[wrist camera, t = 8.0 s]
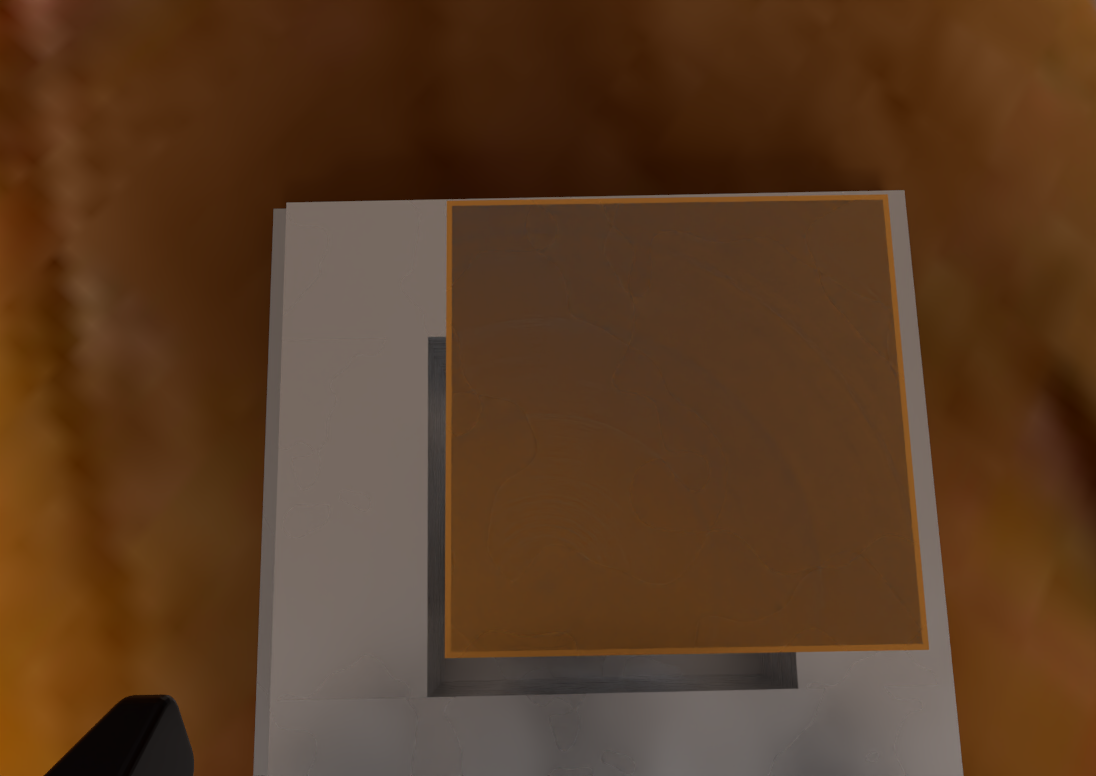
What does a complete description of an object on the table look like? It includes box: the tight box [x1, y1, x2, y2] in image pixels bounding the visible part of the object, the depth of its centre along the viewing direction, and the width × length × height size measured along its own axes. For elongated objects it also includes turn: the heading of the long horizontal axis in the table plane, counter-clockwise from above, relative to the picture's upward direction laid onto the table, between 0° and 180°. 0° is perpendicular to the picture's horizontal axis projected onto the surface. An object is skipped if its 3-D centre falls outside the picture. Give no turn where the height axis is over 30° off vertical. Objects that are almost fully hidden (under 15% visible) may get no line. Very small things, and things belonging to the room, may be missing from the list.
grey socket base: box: [253, 190, 963, 776], centre depth 19 cm, size 18×14×4 cm
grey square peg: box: [445, 194, 929, 658], centre depth 15 cm, size 4×4×12 cm
